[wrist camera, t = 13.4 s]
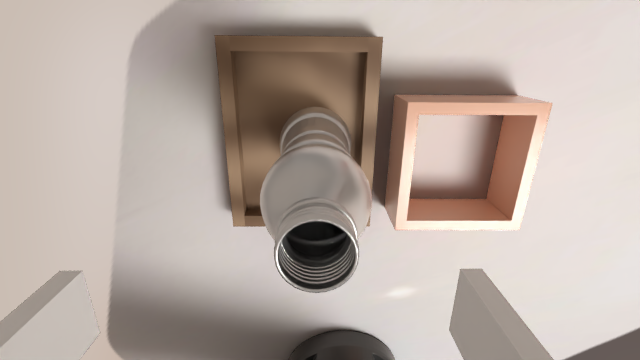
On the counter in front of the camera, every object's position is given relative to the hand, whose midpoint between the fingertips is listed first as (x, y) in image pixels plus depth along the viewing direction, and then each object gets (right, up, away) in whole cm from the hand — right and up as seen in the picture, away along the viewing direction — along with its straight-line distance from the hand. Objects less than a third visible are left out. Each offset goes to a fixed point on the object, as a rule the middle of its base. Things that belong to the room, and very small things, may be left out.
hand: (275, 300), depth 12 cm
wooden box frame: (+15, +7, +22) cm, 28 cm away
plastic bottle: (+1, +9, +21) cm, 22 cm away
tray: (0, +9, +21) cm, 23 cm away
